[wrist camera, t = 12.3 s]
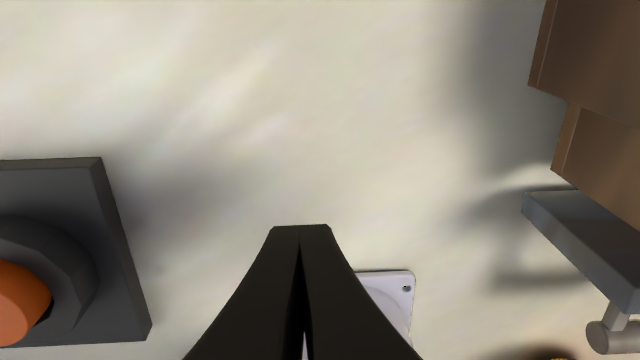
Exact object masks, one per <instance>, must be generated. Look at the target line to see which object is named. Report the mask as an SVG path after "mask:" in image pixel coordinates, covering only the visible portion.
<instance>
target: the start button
mask: <svg viewBox="0 0 640 360" xmlns="http://www.w3.org/2000/svg"><path fill="white" fill-rule="evenodd" d="M50 303H51V293H50V290H49V288H48V286H47V284H46V283H45V282H43V281H42V280H41V279H40V278H38V277H37V276H36V275H35V274H33V273H32V272H31V271H30V270H28V269H27V268H26V267H23V266H20V265H17V264H14V263H11V262H8V261H5V260H2V259H0V346H7V345H11V344H14V343H16V342H18V341H20V340H21V339H23V338H24V337H25V335H26V334H27V333H28V332H29V331H30V329H31V328H32V327H33V326H34V324H35V323H36V322H37V321H38V319H39V318H40V317H41V316H42V315H43V313H44V312H45V311H46V310H47V308H48V307H49V305H50Z"/></svg>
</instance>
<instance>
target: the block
mask: <svg viewBox="0 0 640 360" xmlns="http://www.w3.org/2000/svg"><path fill="white" fill-rule="evenodd" d="M0 259H2V260H5V261H8V262H11V263H14V264H17V265H20V266H23V267H26V268H27V269H28V270H30V271H31V272H32V273H33V274H35V275H36V276H37V277H38V278H40V279H41V280H42V281H43V282H45V283H46V284H47V286H48V288H49V290H50V293H51V303H50V305H49V307H48V308H47V310H46V311H45V312H44V313H43V315H42V316H41V317H40V318H39V319H38V321H37V322H36V323H35V324H34V326H33V327H32V328H31V329H30V331H29V332H28V333H27V334H26V335H25V337H24V338H23V339H21V340H20V341H18V342H16V343H14V344H11V345H7V346H0V348H20V347H39V346H59V345H78V344H98V343H118V342H137V341H145V340H146V339H147V336H148V334H149V332H150V330H151V328H152V322H151V319H150V315H149V312H148V309H147V305H146V302H145V299H144V296H143V292H142V289H141V286H140V283H139V279H138V276H137V273H136V270H135V266H134V263H133V260H132V257H131V253H130V250H129V247H128V243H127V240H126V237H125V234H124V230H123V227H122V224H121V221H120V217H119V214H118V211H117V208H116V204H115V201H114V198H113V194H112V191H111V188H110V185H109V181H108V178H107V175H106V172H105V168H104V165H103V162H102V159H101V157H86V158H58V159H30V160H2V161H0Z"/></svg>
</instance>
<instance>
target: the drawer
mask: <svg viewBox="0 0 640 360" xmlns="http://www.w3.org/2000/svg"><path fill="white" fill-rule="evenodd" d="M550 169H551V170H552V171H553V172H555V173H556V174H557V175H559V176H561V177H562V178H563V179H565V180H566V181H568V182H569V183H570V184H572V185H573V186H575V187H576V188H578V189H579V190H567V191H542V192H526V193H525V197H524V201H523V205H522V209H521V213H522V214H523V215H524V216H525V217H526V218H527V219H528V220H529V221H530V222H531V223H532V224H533V225H534V226H535V227H536V228H537V229H538V230H539V231H540V232H541V233H542V234H543V235H544V236H545V237H546V238H547V239H548V240H549V241H550V242H551V243H552V244H553V245H554V246H555V247H556V248H557V249H558V250H559V251H560V252H561V253H562V254H563V255H564V256H565V257H566V258H567V259H568V260H569V261H570V262H571V263H572V264H573V265H574V266H575V267H577V268H578V269H579V270H580V271H581V272H582V273H583V274H584V275H585V276H586V277H587V278H588V279H589V280H590V281H591V282H592V283H593V284H594V285H595V286H596V287H597V288H598V289H599V290H600V291H601V292H602V293H603V294H604V295H605V296H606V297H607V298H608V299H609V300H610V303H609V305H608V307H607V310H606V312H605V314H604V317H603V319H602V321H592V322H590V323H588V324H587V326H586V337H587V340H588V342H589V344H590V346H591V347H592V349H593V350H594V351H596V352H597V353H599V354H602V355H608V354H627V353H640V319H631V320H628V319H629V317H630V315H631V314H640V130H639V129H636V128H634V127H631V126H629V125H626V124H624V123H621V122H619V121H616V120H614V119H611V118H609V117H606V116H603V115H601V114H598V113H596V112H593V111H591V110H588V109H586V108H583V107H581V106H578V105H576V104H573V103H571V102H569V104H568V107H567V111H566V114H565V118H564V122H563V125H562V129H561V132H560V136H559V139H558V143H557V147H556V150H555V154H554V157H553V161H552V164H551V168H550Z"/></svg>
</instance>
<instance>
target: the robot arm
mask: <svg viewBox="0 0 640 360" xmlns="http://www.w3.org/2000/svg"><path fill="white" fill-rule="evenodd" d="M415 283H416V279H415V276H414V274H413V273H412V272H411V271H389V272H367V273H354V271H353V270H352V268H351V267H350V265H349V263H348V262H347V260H346V258H345V257H344V255H343V253H342V251H341V250H340V248H339V246H338V244H337V242H336V240H335V238H334V235H333V233H332V230H331V228H330V227H329V226H328V225H327V224H316V225H293V226H274V227H273V228H272V229H271V230H270V231H269V234H268V236H267V238H266V240H265V242H264V244H263V246H262V248H261V250H260V252H259V253H258V255H257V257H256V259H255V260H254V262H253V264H252V265H251V267H250V269H249V270H248V272H247V273H246V275H245V277H244V278H243V280H242V281H241V283H240V284H239V286H238V288H237V289H236V291H235V292H234V294H233V295H232V296H231V298H230V299H229V300H228V302H227V303H226V305H225V306H224V307H223V309H222V310H221V311H220V313H219V314H218V316H217V317H216V318H215V320H214V321H213V322H212V324H211V325H210V326H209V328H208V329H207V330H206V331H205V333H204V334H203V335H202V336H201V338H200V339H199V340H198V341H197V343H196V344H195V345H194V346H193V347H192V349H191V350H190V351H189V352H188V353H187V354H186V356H185V357H184V358H183V359H182V360H423V359H422V358H421V357H420V356H419V355H418V354H417V353H416V351H415V350H414V348H413V345H412V342H411V339H410V335H409V332H410V324H411V316H412V308H413V300H414V291H415ZM405 285H408V286H407V287H403V286H405Z"/></svg>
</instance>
